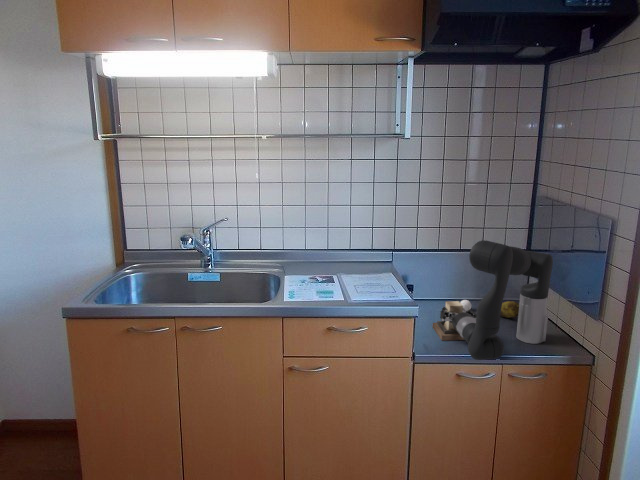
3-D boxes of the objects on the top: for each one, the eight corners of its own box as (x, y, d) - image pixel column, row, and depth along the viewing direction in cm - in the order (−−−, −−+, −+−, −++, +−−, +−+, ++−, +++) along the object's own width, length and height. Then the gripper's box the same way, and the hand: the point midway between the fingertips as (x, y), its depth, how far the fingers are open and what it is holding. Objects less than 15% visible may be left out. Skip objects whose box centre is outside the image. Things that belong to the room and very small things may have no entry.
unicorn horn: (432, 324, 196) (433, 313, 195) (461, 308, 212) (462, 298, 211) (443, 327, 193) (443, 316, 191) (471, 311, 209) (472, 300, 208)
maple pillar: (456, 325, 189) (458, 301, 187) (461, 330, 184) (463, 305, 182) (444, 325, 189) (445, 301, 187) (448, 331, 184) (449, 306, 182)
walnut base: (462, 326, 193) (462, 318, 192) (473, 339, 181) (474, 331, 181) (432, 327, 192) (432, 319, 192) (441, 340, 181) (442, 332, 180)
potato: (503, 311, 208) (505, 293, 207) (524, 322, 197) (526, 303, 195) (487, 313, 206) (488, 295, 204) (507, 325, 194) (508, 306, 192)
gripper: (488, 316, 170) (470, 299, 187) (447, 317, 170) (433, 300, 186) (486, 336, 172) (469, 317, 189) (446, 337, 171) (432, 318, 188)
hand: (451, 309), depth 187 cm, fingers open, 5 cm apart
